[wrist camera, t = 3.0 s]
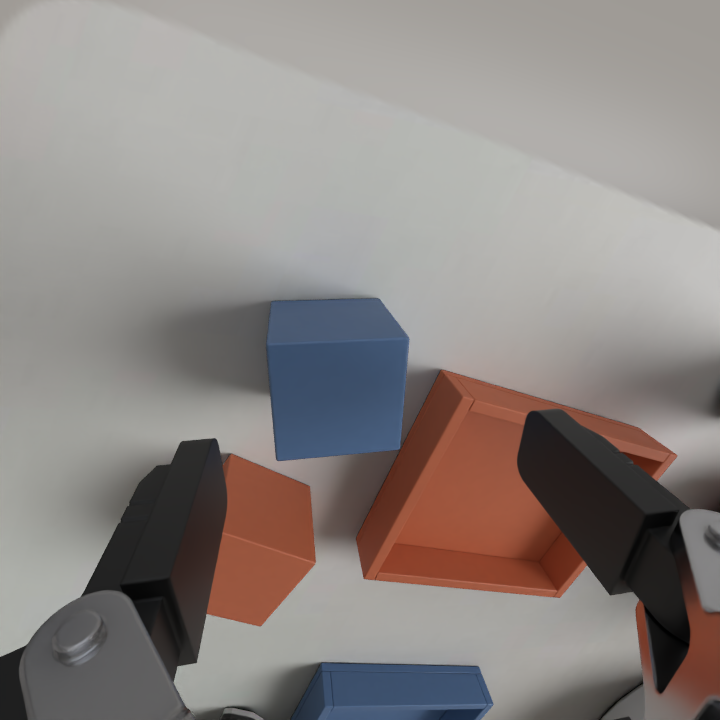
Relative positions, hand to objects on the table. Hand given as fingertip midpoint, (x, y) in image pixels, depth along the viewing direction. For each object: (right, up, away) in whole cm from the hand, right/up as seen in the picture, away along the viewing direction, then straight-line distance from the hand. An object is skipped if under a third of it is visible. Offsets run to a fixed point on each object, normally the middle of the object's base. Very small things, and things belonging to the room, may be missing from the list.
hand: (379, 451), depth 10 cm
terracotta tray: (+7, -5, +12) cm, 15 cm away
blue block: (-2, +3, +7) cm, 7 cm away
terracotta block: (-6, -5, +9) cm, 12 cm away
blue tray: (+1, -25, +20) cm, 32 cm away
